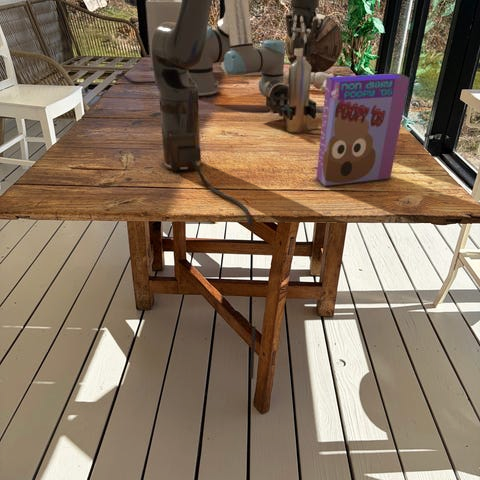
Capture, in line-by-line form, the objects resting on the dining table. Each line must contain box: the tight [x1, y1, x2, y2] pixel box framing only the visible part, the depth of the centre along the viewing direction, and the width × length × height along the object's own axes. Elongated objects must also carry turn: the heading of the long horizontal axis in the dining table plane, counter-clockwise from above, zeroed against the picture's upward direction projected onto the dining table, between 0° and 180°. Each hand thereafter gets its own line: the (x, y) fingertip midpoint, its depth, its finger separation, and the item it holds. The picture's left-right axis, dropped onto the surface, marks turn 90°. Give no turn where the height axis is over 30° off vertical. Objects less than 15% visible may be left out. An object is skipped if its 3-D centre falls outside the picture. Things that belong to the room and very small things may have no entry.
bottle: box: [285, 56, 312, 134], centre depth 142 cm, size 6×6×23 cm
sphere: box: [284, 12, 344, 73], centre depth 209 cm, size 25×25×25 cm
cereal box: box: [315, 73, 410, 187], centre depth 109 cm, size 17×5×24 cm, turn 106°
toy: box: [283, 71, 342, 93], centre depth 188 cm, size 24×25×7 cm
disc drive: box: [220, 62, 262, 77], centre depth 217 cm, size 18×22×5 cm
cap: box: [294, 48, 303, 56], centre depth 136 cm, size 4×4×2 cm
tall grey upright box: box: [145, 0, 182, 70], centre depth 219 cm, size 19×15×28 cm
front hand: (301, 55), depth 137 cm, fingers closed on cap, 3 cm apart
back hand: (303, 114), depth 140 cm, fingers closed on bottle, 6 cm apart
